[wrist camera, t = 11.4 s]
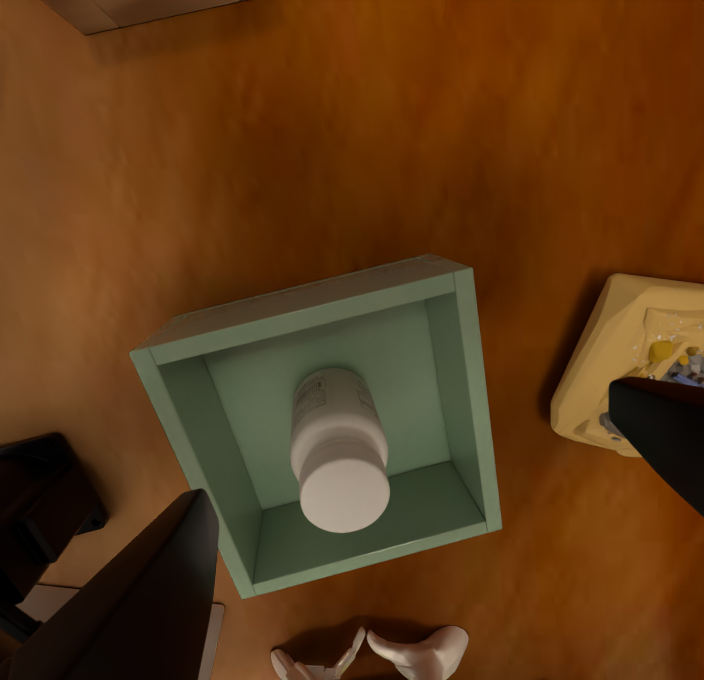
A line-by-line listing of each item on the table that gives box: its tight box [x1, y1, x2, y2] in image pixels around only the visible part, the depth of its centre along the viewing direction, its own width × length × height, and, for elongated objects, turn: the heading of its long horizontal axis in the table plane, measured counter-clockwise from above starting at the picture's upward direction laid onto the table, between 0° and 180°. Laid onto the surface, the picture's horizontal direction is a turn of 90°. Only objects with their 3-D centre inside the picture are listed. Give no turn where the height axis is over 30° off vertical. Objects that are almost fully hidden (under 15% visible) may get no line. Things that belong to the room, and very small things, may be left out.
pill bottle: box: [290, 368, 390, 533], centre depth 18 cm, size 4×4×8 cm
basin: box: [129, 253, 502, 599], centre depth 19 cm, size 14×14×6 cm
